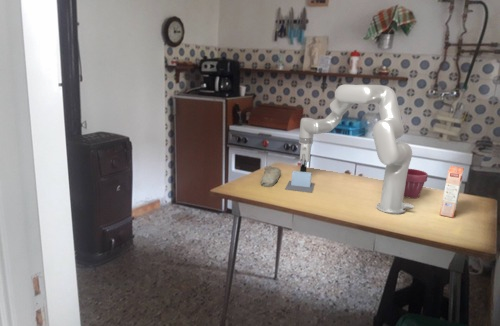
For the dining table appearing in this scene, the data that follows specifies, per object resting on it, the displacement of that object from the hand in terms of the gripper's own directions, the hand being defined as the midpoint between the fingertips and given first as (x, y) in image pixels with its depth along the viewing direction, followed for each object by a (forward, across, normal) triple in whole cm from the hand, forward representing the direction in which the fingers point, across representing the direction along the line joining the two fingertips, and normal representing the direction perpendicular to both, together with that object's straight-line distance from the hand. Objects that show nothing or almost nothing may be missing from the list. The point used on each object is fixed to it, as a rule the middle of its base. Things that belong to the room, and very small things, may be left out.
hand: (303, 173), depth 214 cm
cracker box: (+5, -23, -70) cm, 74 cm away
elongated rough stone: (+6, 0, +18) cm, 19 cm away
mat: (+5, -10, 0) cm, 11 cm away
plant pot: (+5, -2, -56) cm, 56 cm away
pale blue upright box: (+5, -8, 0) cm, 9 cm away
